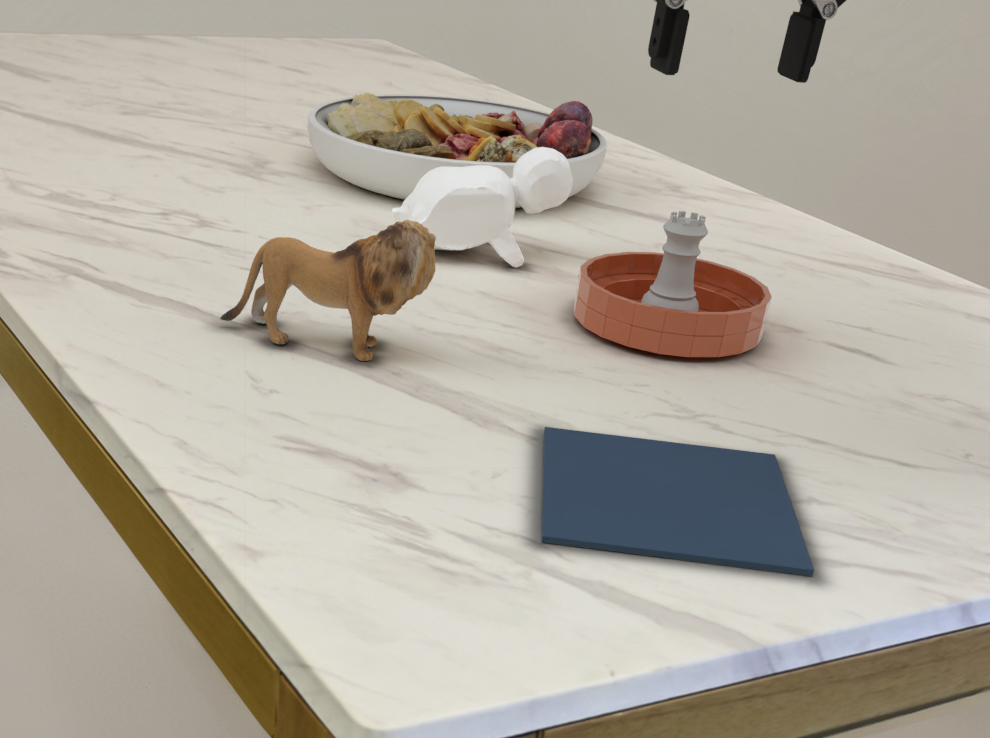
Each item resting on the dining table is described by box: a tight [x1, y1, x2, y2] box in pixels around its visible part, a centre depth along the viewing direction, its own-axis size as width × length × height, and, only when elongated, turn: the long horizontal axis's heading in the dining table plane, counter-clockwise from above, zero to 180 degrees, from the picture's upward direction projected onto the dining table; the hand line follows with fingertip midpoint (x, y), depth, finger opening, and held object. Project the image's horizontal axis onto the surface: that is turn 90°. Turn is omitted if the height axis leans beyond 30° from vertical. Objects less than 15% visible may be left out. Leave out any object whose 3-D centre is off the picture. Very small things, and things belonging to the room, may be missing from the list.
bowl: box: [307, 92, 608, 209], centre depth 128 cm, size 30×30×8 cm
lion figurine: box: [219, 220, 436, 362], centre depth 85 cm, size 15×5×9 cm, turn 79°
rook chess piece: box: [641, 210, 709, 312], centre depth 93 cm, size 4×4×8 cm
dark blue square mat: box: [541, 426, 815, 577], centre depth 71 cm, size 14×14×1 cm
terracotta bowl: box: [573, 251, 773, 358], centre depth 95 cm, size 14×14×4 cm
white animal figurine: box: [391, 147, 573, 268], centre depth 106 cm, size 9×8×15 cm
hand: (728, 74), depth 86 cm, fingers open, 9 cm apart
